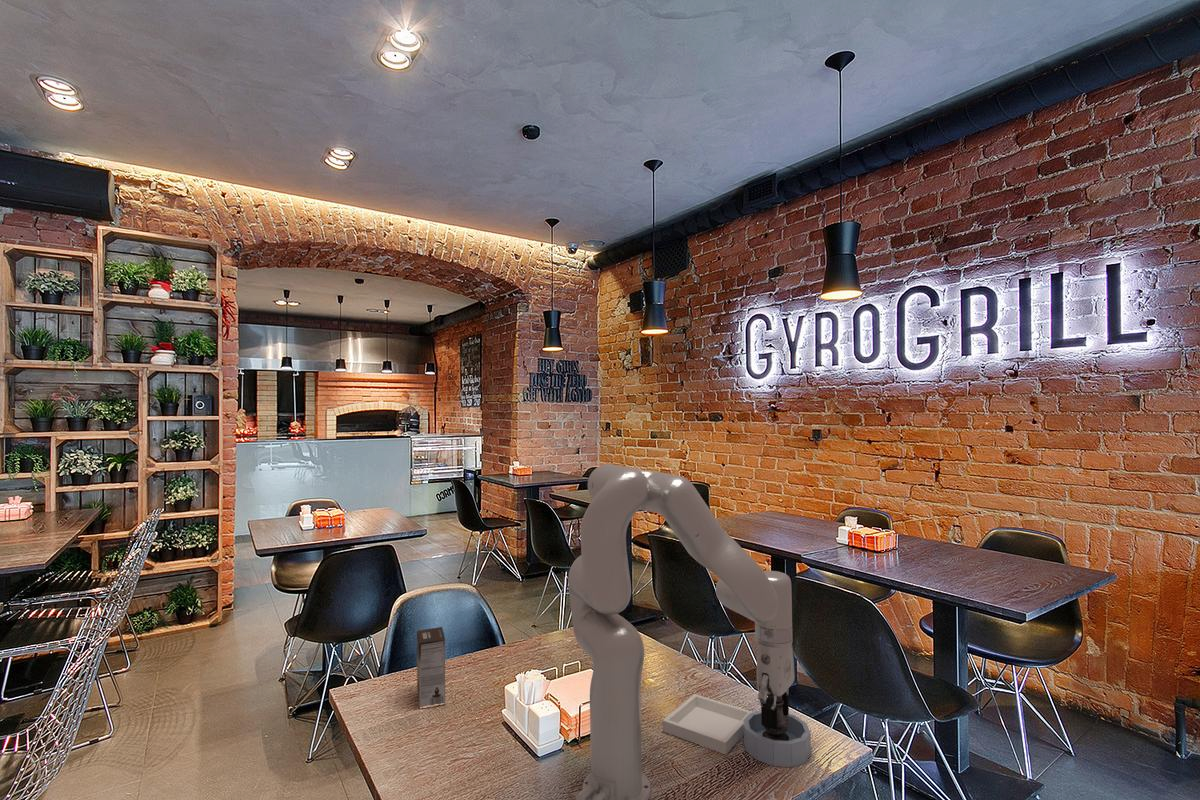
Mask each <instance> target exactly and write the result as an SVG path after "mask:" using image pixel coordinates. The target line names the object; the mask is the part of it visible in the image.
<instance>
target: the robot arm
mask: <svg viewBox="0 0 1200 800" xmlns="http://www.w3.org/2000/svg"><path fill="white" fill-rule="evenodd" d="M587 479H588V480H587V491H588V493H589V496H590V498H591V499H592V500H591V501H590V503H589V505H588V506H587V508H586V510H585V512H584V515H582V516H583V517H582V519H581V523H580V548H581V549H580V553H581V555H579V556H578V557H577V558H575V560H574V561H573V562H572V564H571V566H570V569H569V571H568V578H567V586H568V595H569V597H568V598H569V606H570V613H571V614H570V615H571V622H572V623H571V624H572V628H573V633H574V636H575V640H576V643H577V644H578V646H579V647H580V648H581V649H582V650H583V652H585V654H586V655H587V656H588V657H589V658H590V659H591V661H592V667H593V669H592V675H591V680H590V685H589V729H590V730H589V732H590V733H589V734H590V735H589V736H590V741H589V743H590V772H589V773H588V775H587V776H586V777H585V778H584V780H583V782H582V789H581V790H580V791H579V792H578V793H577V794H576V795H575V800H649V799H650V796H651V792H652V791H651V790H652V789H651V788H652V787H651V781H650V780H649V778H648V777H647V775H646V774H644V772H643V762H642V761H643V755H642V753H643V752H642V749H643V747H642V746H643V745H642V703H641V702H642V701H641V700H642V699H641V697H642V693H641V689H642V688H641V687H642V684H641V683H642V673H643V668H644V667H643V666H644V662H645V661H644V660H645V644H644V641H643V639H642V636H641V634H640V632H639V631H638V629H637V628H636V627H635V626H634V625H633V624H632V623H631V622H629V621H628V620H627V619H625V618H624V616H622V615H620V614H619V613H621V612H623V611H624V610H626V608H627V607H628V605H629V604H630V600H631V597H632V584H631V583H632V582H631V576H630V575H631V574H630V568H629V560H628V553H627V531H628V526H629V524H630V522H631V520H632V519H633V518H634V516H635V514H636V513H637V512H638V511H645V512H652V513H656V514H659V515H661V516H662V518H663V519H664V520H665V522H666V523H667V524H668V525H669V527H670V529H671V530H672V532H673V533H674V534H675V536H676V537H677V539H678V540H679V541H680V543H681V545H682V546H683V547H684V548H685V550H686V552H687V553H688V554H689V556H690V557H692V558H693V559H694V560H695V561H696V562H697V563H699V565H701V566H703V567H704V568H705V569H707V570H708V571H709V572H711V573H713V574H714V575H716V577H718V578H719V579H718V581H717V582H716V586H715V595H716V598H717V599H718V601H719V602H720V604H721V605H723V606H724V607H725V608H727V609H729V610H731V611H732V612H735V613H736V614H740V615H741V616H743V617H745V618H747V619H748V620H750V621H752V622H754V634H755V635H754V636H755V637H754V638H755V640H756V641H757V649H756V650H757V652H756V686H757V687H756V688H757V690H758V695H757V699H758V700H759V703H760V710H761V722H762V725H763V726H766V727H769V728H772V729H775V730H776V729H777V728H778V717H777V709H776V708H775V707H776V697H777V696H778V697H780V696H782V699H783V700H784V704H783V715H785V716H788V714H790V711H789V710H790V709H789V708H790V707H789V706H790V705H789V703H790V702H789V692H790V691H789V688H790V687H791V686H792V685H793V684H794V682H795V680H796V679H795V664H794V663H795V661H794V649H793V642H794V641H793V638H794V637H793V605H792V604H793V601H792V600H793V598H792V597H793V596H792V595H793V594H792V592H793V591H792V581H791V578H790V576H789V575H788V574H786V573H784V572H781V571H777V570H763V568H761V566H760V565H759V564H758V562H756V561H755V559H754V558H753V557H752V556H751V555H750V554H749V553H748V552H747V551H746V550H744V548H743V547H741V545H740V544H739V543H737V541H736V540H735V539H734V538H733V537H732V536H730V535H729V534H728V532H726V530H725V529H724V528H723V527H722V525H721V524H720V522H719V521H718V520H717V518H716V516H715V515H714V513H713V512H712V511H711V509H710V507H709V506H708V505H707V503H706V502H705V500H704V499H703V497H702V496H701V494H700V492H699V491H698V490H697V488H696V487H695V486H694V484H693V483H692V482H691V481H690V480H689V479H687V478H686V477H684V476H681V475H679V474H672V473H668V472H661V471H651V470H644V469H638V468H633V467H631V466H630V467H629V466H624V465H617V464H613V463H612V464H611V463H610V464H609V463H607V464H606V463H605V464H601V465H599V466H598V467H596V468H595V469H594V470H593V471H592V472H591V473H590V474H589V477H588V478H587ZM768 688H770V689H771V690H772V692H770V691H768ZM768 695H771V696H772V702H771V700H770V699H769V698H768Z"/></svg>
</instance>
